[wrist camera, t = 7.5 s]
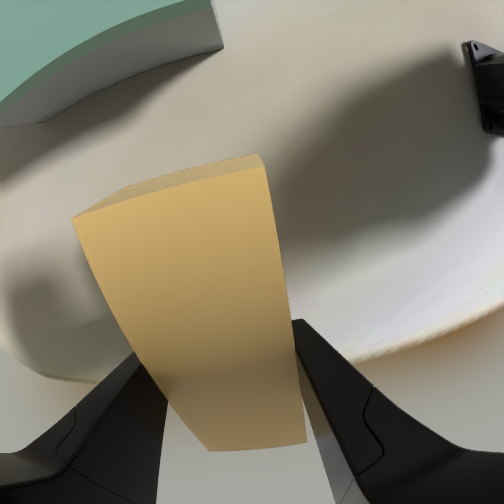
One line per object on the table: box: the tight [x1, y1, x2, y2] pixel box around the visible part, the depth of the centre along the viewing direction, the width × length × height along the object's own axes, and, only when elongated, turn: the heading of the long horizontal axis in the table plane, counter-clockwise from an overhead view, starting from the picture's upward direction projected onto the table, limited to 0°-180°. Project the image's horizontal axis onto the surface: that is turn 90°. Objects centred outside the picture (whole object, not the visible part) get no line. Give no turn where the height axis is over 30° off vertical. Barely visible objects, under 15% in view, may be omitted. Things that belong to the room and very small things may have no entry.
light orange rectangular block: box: [72, 153, 307, 451], centre depth 8 cm, size 4×10×3 cm, turn 11°
